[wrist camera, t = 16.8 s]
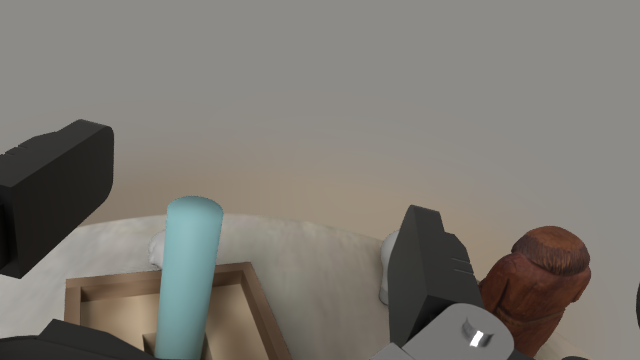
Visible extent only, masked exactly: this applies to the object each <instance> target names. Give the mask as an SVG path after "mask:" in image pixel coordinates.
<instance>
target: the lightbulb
mask: <svg viewBox="0 0 640 360" xmlns="http://www.w3.org/2000/svg"><path fill="white" fill-rule="evenodd" d="M398 233H399V230H397V231H395V232H393V233H391V234H389V236H388V237H387V238H386V239H385V240H384V242H383V244H382V247H381V261H382V265H383V278H382V287H381V290H380V294H379V298H380V300H381V301H382V302H383V303H385V304H386V305H388V283H387V269H388V263H389V258H390V255H391V251H392V249H393V246H394V243H395V241H396V238H397V236H398Z"/></svg>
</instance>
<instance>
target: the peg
mask: <svg viewBox="0 0 640 360" xmlns="http://www.w3.org/2000/svg"><path fill="white" fill-rule="evenodd" d="M222 220H223V209H222V207H221V206H220V205H219V204H217V203H216V202H215V201H213V200H210V199H208V198H204V197H198V196H186V197H181V198H178V199H176V200H174V201H172V202H171V203H170V204H169V206H168V209H167V220H166V231H165V243H164V254H163V265H162V276H161V287H160V299H159V310H158V321H157V332H156V344H155V355H154V357H156V358H160V359H181V360H200V359H201V353H202V346H203V340H204V334H205V327H206V321H207V315H208V308H209V302H210V296H211V289H212V283H213V277H214V270H215V264H216V258H217V251H218V245H219V239H220V232H221V226H222Z"/></svg>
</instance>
